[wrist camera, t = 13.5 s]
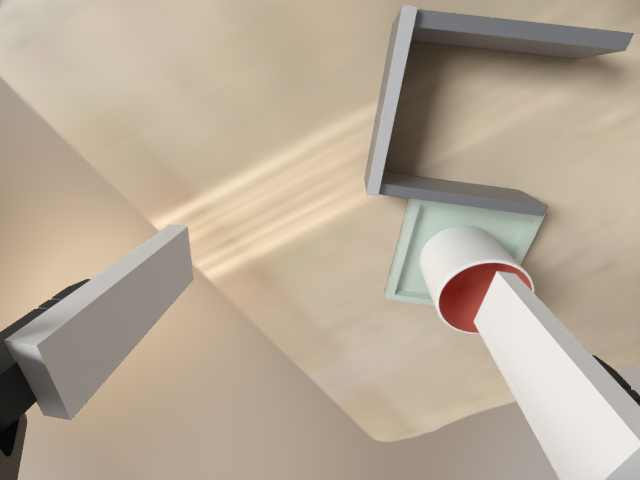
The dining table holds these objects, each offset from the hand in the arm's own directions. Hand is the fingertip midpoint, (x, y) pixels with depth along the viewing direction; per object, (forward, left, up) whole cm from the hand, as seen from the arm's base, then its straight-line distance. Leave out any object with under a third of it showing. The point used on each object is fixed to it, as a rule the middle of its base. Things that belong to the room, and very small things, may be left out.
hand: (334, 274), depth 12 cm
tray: (+11, +17, -27) cm, 34 cm away
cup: (+11, +17, -26) cm, 33 cm away
